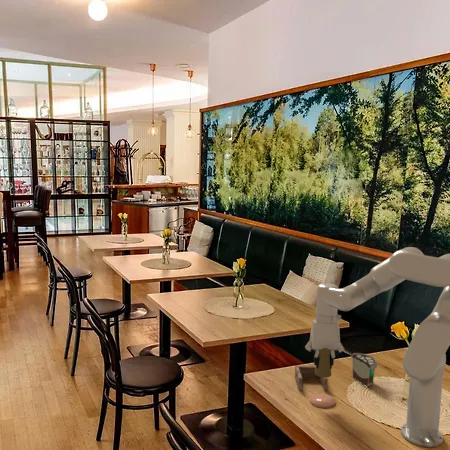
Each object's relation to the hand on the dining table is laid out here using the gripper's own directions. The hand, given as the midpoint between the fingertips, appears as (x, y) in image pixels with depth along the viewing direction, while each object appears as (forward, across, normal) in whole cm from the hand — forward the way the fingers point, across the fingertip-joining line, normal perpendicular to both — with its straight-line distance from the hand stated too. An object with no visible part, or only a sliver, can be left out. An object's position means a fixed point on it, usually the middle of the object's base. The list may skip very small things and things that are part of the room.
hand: (323, 366), depth 173 cm
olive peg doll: (+3, 0, 0) cm, 3 cm away
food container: (+14, -21, -18) cm, 31 cm away
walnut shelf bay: (+14, +2, -14) cm, 20 cm away
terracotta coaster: (+13, 0, 0) cm, 13 cm away
